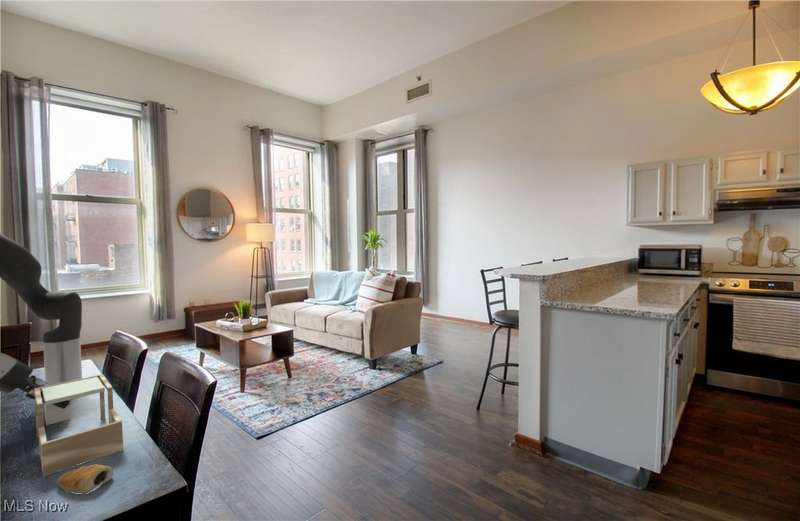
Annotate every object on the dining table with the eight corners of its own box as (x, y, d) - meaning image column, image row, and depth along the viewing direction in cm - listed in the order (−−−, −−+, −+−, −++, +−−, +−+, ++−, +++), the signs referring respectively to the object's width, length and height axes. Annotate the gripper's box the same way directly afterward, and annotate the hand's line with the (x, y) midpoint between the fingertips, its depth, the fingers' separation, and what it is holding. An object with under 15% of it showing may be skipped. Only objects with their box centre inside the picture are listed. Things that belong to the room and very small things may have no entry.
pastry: (46, 494, 73) (45, 475, 73) (79, 473, 80) (79, 456, 80) (87, 498, 72) (87, 478, 72) (118, 476, 79) (117, 459, 79)
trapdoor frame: (36, 436, 95) (34, 388, 94) (104, 417, 105) (102, 374, 104) (43, 476, 78) (40, 419, 78) (123, 449, 88) (121, 398, 88)
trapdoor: (42, 392, 94) (42, 388, 94) (97, 380, 102) (97, 376, 102) (45, 405, 87) (45, 401, 87) (104, 391, 95) (104, 387, 95)
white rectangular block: (45, 419, 104) (43, 391, 104) (68, 413, 108) (67, 386, 107) (46, 425, 101) (44, 396, 100) (70, 418, 104) (69, 391, 104)
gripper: (16, 365, 93) (81, 397, 102) (15, 354, 103) (74, 384, 112) (-14, 392, 89) (56, 423, 99) (-12, 378, 99) (51, 407, 108)
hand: (65, 402), depth 105 cm, fingers closed on white rectangular block, 5 cm apart
